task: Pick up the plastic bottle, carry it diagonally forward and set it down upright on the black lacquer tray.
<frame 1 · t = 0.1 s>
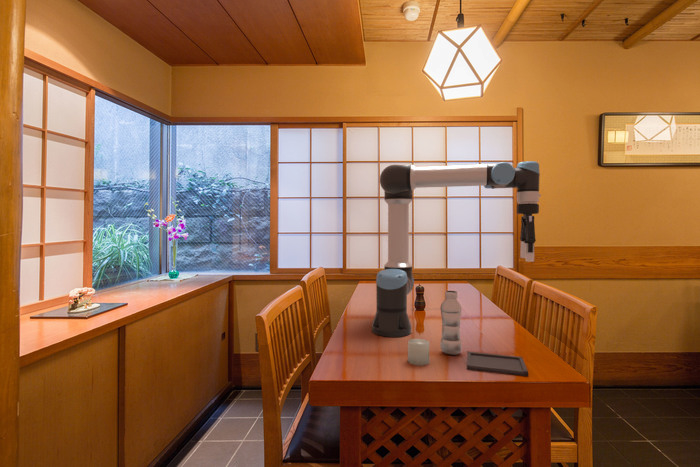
hand: (526, 259, 141), 28 cm above the table, fingers open, 13 cm apart
white rounded cylinder: (418, 361, 113), on the table
tray: (495, 364, 110), on the table
plastic bottle: (450, 354, 120), on the table
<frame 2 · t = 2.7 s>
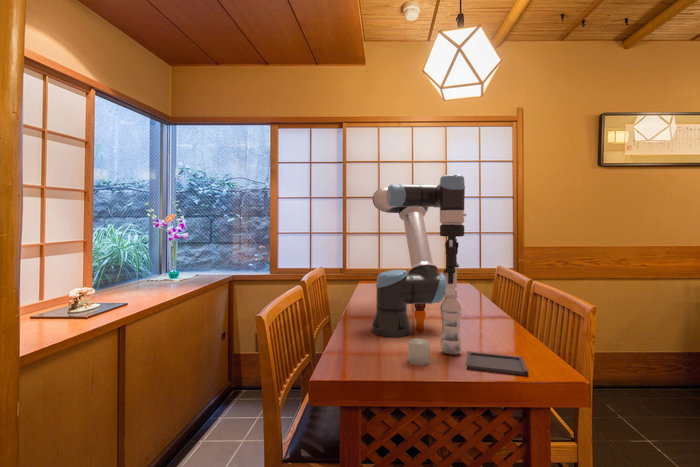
hand: (451, 290, 119), 20 cm above the table, fingers open, 13 cm apart
nothing on the table moved.
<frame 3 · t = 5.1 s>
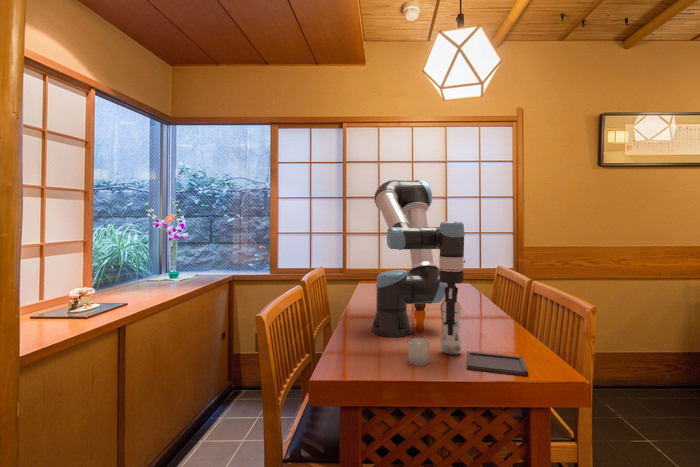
hand: (450, 341, 120), 4 cm above the table, fingers closed on plastic bottle, 6 cm apart
plastic bottle: (450, 354, 120), on the table, touching gripper
everything else where it was.
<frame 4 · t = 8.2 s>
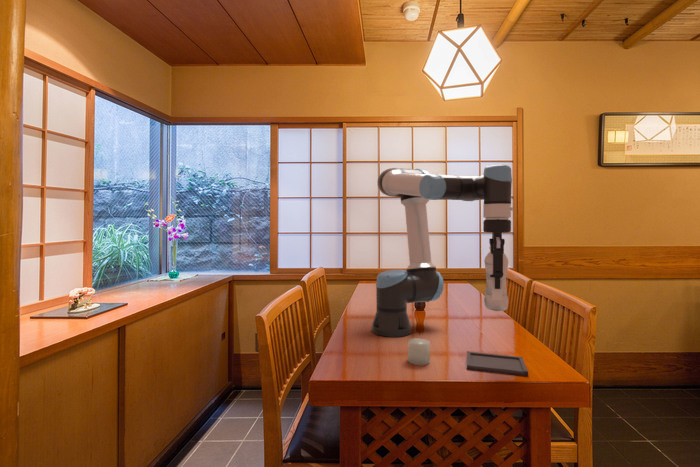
hand: (496, 297, 110), 20 cm above the table, fingers closed on plastic bottle, 6 cm apart
plastic bottle: (495, 311, 110), point 16 cm above the table, touching gripper
everything else where it was.
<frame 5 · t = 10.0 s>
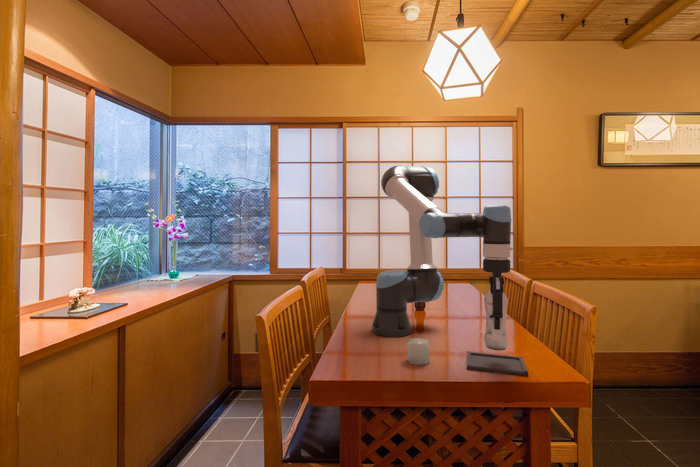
hand: (495, 336, 110), 9 cm above the table, fingers closed on plastic bottle, 6 cm apart
plastic bottle: (495, 350, 110), point 4 cm above the table, touching gripper
everything else where it was.
when the fingers open (6 cm above the table, at t = 11.4 s): plastic bottle drops 1 cm, resting on tray.
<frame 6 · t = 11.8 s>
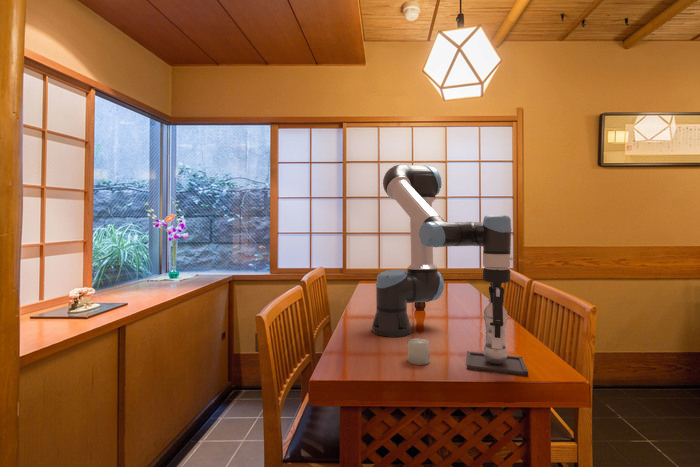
hand: (495, 341, 110), 7 cm above the table, fingers open, 11 cm apart
plastic bottle: (495, 363, 111), resting on tray
everything else where it was.
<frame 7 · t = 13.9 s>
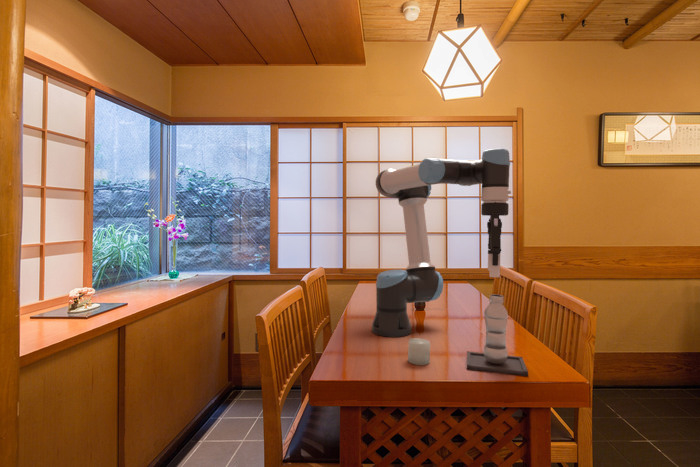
hand: (493, 273, 112), 27 cm above the table, fingers open, 13 cm apart
nothing on the table moved.
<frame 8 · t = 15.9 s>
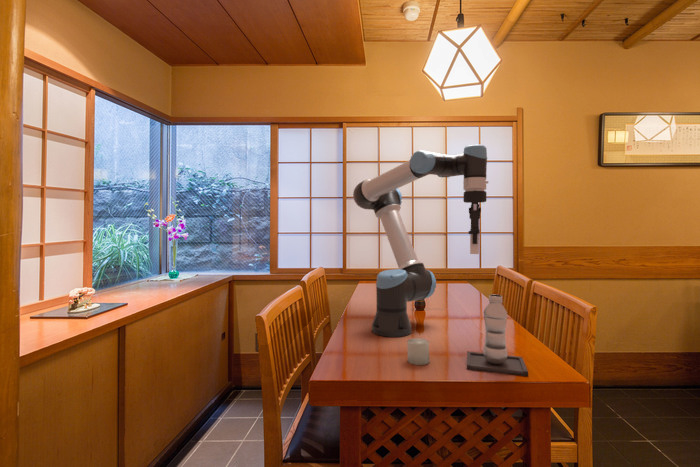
hand: (474, 252, 129), 32 cm above the table, fingers open, 13 cm apart
nothing on the table moved.
at the end: plastic bottle inside the target area on the tray (0.1 cm from its centre), point 0.4 cm above the tray's base; plastic bottle tilted 0°; the gripper is holding nothing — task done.
